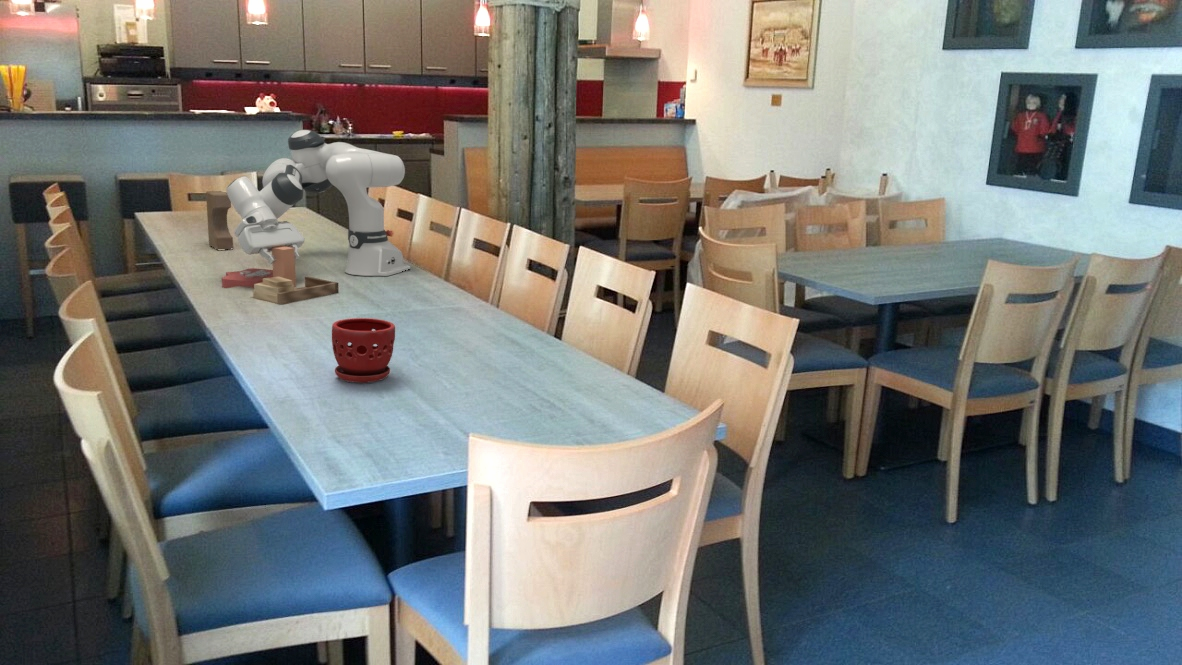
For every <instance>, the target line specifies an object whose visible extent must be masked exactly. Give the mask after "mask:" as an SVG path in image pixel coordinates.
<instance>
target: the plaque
mask: <svg viewBox="0 0 1182 665" xmlns="http://www.w3.org/2000/svg"><path fill="white" fill-rule="evenodd" d="M271 277H273V269H265V268H257V267H256V268H254V267H253V268H246V269H243V270H239V271H236V270H235V271H227V272H225V276H223V277H221V284H222V285H221V286H222V288H223V287H224V288H223V289H231V288H235V287H245V288H247V287H248V288H254V284H257V283H262V282H263V278H271Z"/></svg>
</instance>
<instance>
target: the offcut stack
mask: <svg viewBox="0 0 1182 665" xmlns="http://www.w3.org/2000/svg"><path fill="white" fill-rule="evenodd" d="M253 288H254V289H253V292H252V293H253V294H252V295H253V296H252V297H254V298H258V299H257V300H259V299H262V300H261V301H263V300H266V301H265V302H267V301H270V302H269V303H271V302H275V303H278V299H277V293H281V292H287V291H292V290H294V289H295V287H294V285H292V280H289V279H285V278H282V277H271V278H263V282H262V283H257V284H254V287H253ZM254 298H253V299H254ZM275 303H274V304H275Z"/></svg>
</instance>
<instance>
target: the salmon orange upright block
mask: <svg viewBox="0 0 1182 665" xmlns="http://www.w3.org/2000/svg"><path fill="white" fill-rule="evenodd" d="M271 254H272V256H273V255H274V256H275V258H276V262H275V263H272V270H273V277H282V278H285V279H289V280H292V285H294V288H297V283H296V280H297V278H296V260H295V254H294V248H290V247H285V246H280V247H273V248H272V252H271Z"/></svg>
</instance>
